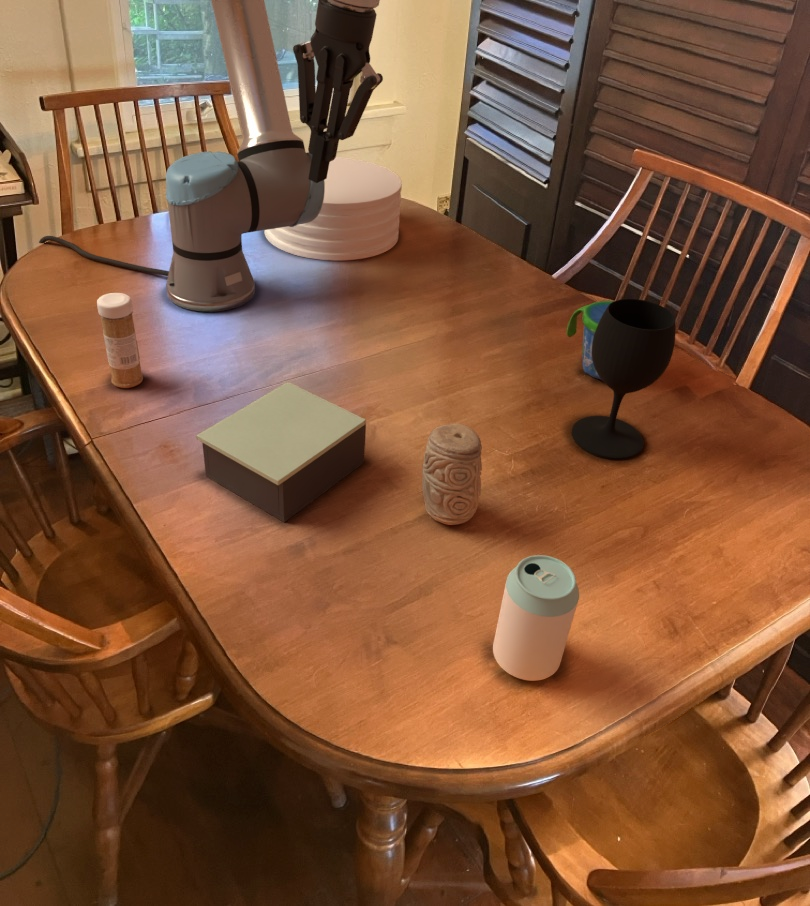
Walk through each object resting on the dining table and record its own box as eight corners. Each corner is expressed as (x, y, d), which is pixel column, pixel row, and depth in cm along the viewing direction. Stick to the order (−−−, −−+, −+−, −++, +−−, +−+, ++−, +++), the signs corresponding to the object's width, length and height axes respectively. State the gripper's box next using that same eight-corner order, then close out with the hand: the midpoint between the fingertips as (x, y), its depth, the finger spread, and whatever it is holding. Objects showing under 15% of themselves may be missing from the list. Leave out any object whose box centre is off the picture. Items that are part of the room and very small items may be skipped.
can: (489, 677, 81) (506, 596, 74) (494, 625, 86) (511, 544, 79) (559, 690, 80) (583, 609, 73) (560, 636, 86) (582, 556, 78)
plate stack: (368, 271, 155) (370, 213, 148) (239, 242, 161) (236, 186, 155) (416, 223, 176) (420, 171, 169) (301, 200, 183) (300, 148, 176)
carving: (433, 488, 104) (442, 412, 97) (485, 510, 101) (498, 433, 94) (408, 515, 99) (416, 437, 92) (462, 539, 97) (474, 461, 89)
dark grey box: (284, 522, 97) (283, 482, 93) (205, 476, 103) (201, 436, 99) (364, 462, 107) (366, 424, 104) (288, 423, 113) (287, 386, 109)
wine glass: (601, 467, 110) (636, 339, 98) (556, 426, 117) (584, 302, 105) (658, 450, 114) (699, 325, 102) (612, 411, 121) (645, 290, 109)
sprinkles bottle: (141, 371, 121) (129, 290, 113) (144, 387, 118) (132, 304, 110) (110, 375, 120) (95, 293, 112) (112, 391, 117) (97, 307, 108)
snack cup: (546, 359, 133) (557, 303, 126) (588, 342, 138) (600, 288, 132) (621, 403, 123) (637, 345, 117) (662, 383, 129) (679, 327, 123)
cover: (278, 485, 93) (278, 481, 92) (196, 439, 98) (196, 435, 98) (366, 423, 103) (366, 419, 103) (287, 385, 109) (287, 381, 109)
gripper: (289, -14, 100) (265, 167, 115) (378, 23, 97) (342, 203, 113) (320, -18, 106) (294, 155, 121) (406, 17, 103) (368, 189, 118)
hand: (317, 178), depth 117 cm, fingers closed
